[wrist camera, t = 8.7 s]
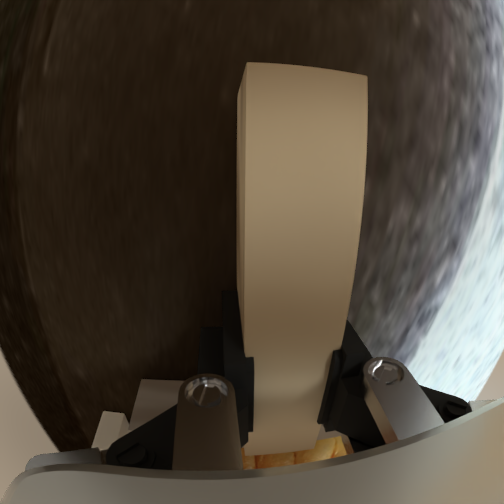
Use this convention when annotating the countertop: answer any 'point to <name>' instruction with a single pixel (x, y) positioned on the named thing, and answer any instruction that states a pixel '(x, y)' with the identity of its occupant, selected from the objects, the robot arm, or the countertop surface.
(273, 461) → the pastry
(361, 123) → the dough scraper
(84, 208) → the countertop surface
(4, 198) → the countertop surface
